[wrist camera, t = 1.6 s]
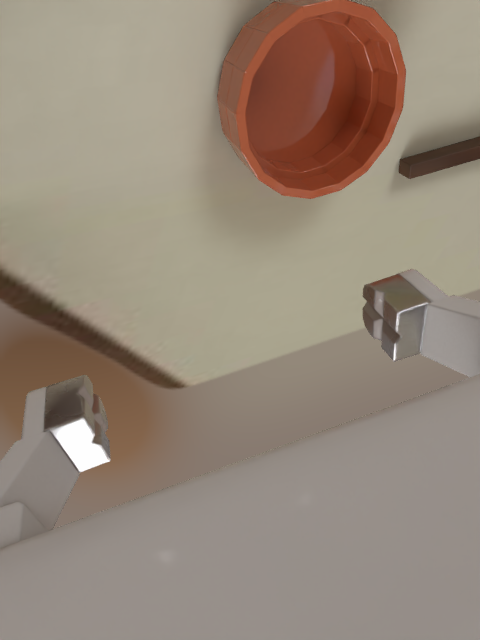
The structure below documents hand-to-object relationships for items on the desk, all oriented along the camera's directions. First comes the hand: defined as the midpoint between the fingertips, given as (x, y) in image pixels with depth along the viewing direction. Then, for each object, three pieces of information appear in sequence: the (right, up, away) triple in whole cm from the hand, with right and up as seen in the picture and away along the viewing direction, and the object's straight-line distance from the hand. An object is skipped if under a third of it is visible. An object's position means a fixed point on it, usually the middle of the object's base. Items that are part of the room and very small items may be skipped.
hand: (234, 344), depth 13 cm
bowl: (+4, +17, +19) cm, 25 cm away
